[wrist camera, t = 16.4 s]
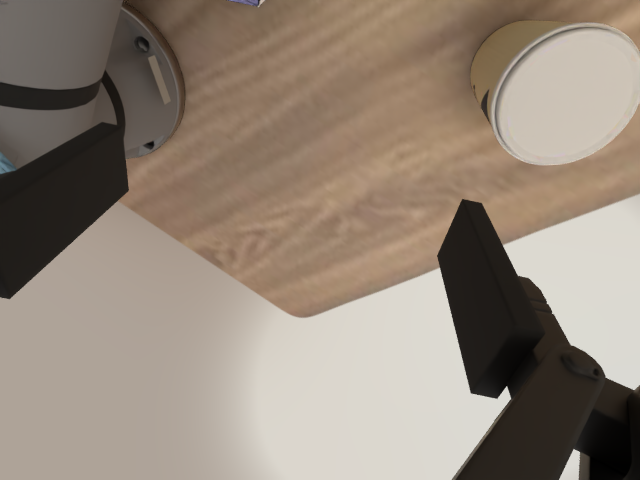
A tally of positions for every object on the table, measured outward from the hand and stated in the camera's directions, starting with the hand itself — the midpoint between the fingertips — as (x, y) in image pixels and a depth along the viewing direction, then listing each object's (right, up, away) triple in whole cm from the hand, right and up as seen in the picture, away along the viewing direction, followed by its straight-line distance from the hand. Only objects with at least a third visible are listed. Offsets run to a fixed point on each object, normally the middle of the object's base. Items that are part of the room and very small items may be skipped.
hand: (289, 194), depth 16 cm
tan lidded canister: (+19, +14, +21) cm, 31 cm away
